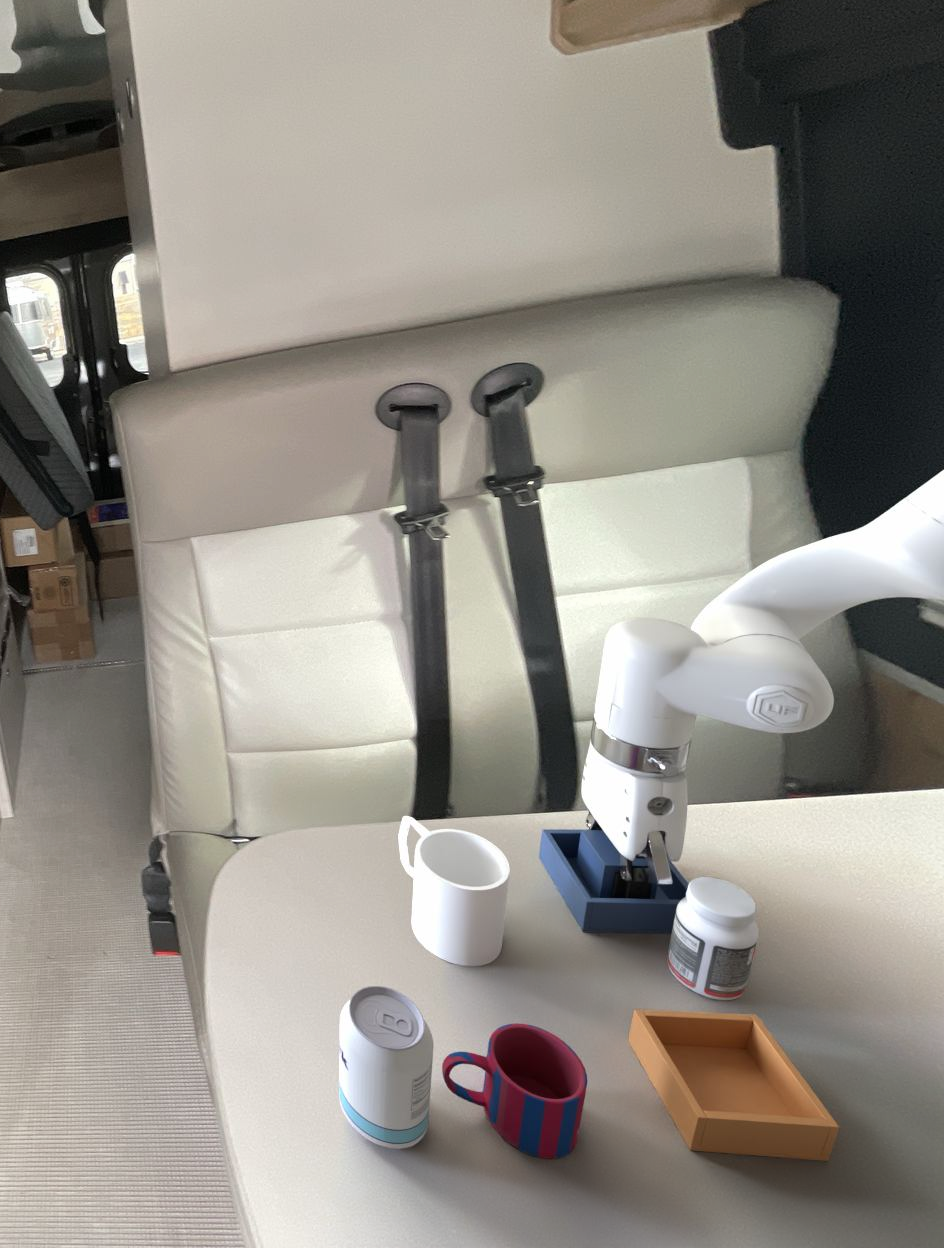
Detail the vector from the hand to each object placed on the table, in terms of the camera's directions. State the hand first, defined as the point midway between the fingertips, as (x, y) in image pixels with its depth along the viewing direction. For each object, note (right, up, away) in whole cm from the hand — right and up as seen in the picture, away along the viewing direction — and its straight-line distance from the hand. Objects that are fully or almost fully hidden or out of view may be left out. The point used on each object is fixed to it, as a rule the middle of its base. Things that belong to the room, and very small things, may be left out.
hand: (614, 880), depth 87 cm
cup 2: (-22, -12, -17) cm, 31 cm away
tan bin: (-5, -10, -18) cm, 22 cm away
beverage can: (-32, -14, -16) cm, 38 cm away
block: (0, 0, 0) cm, 0 cm away
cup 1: (-18, -5, +1) cm, 18 cm away
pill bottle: (+2, -5, -9) cm, 10 cm away
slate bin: (0, -2, +1) cm, 2 cm away
